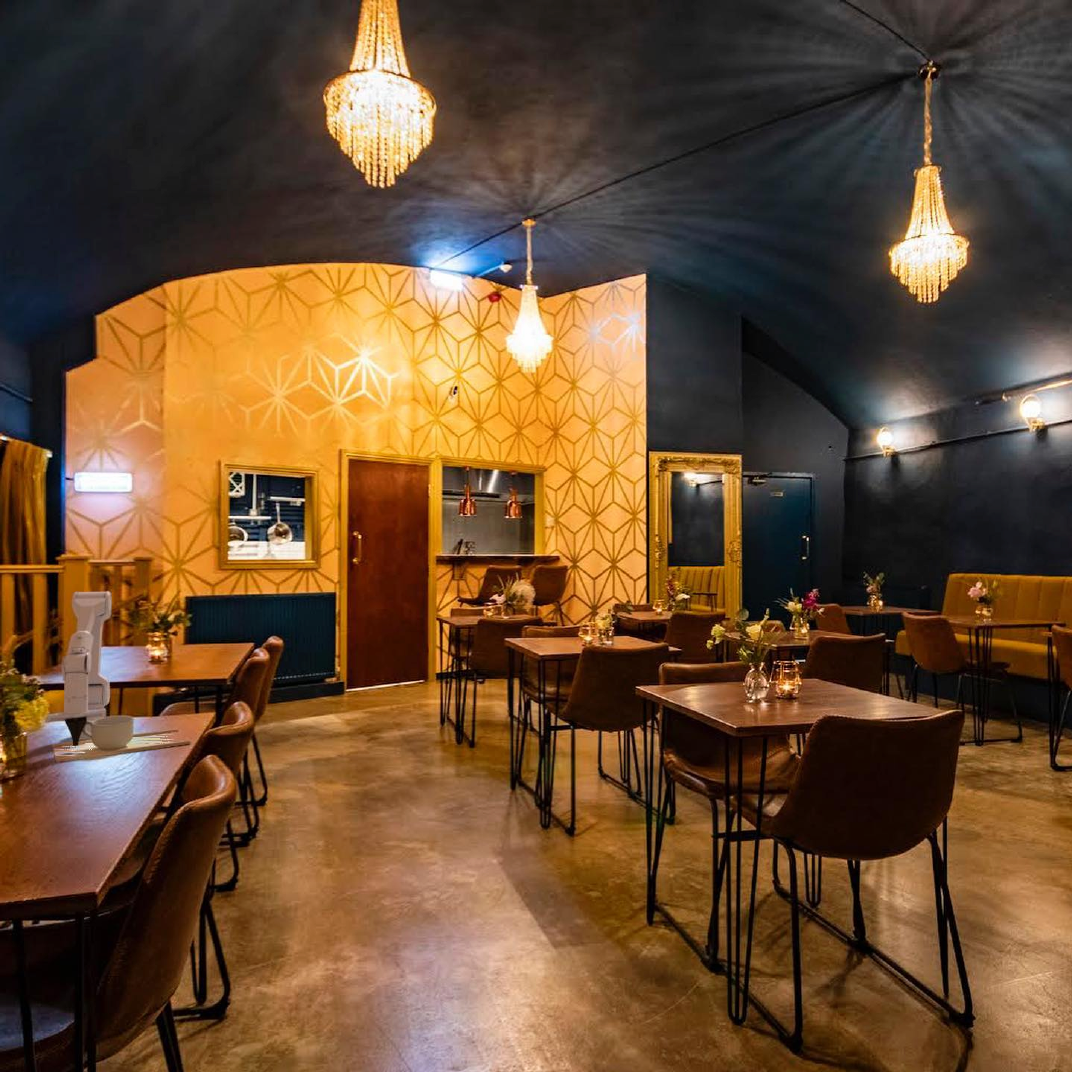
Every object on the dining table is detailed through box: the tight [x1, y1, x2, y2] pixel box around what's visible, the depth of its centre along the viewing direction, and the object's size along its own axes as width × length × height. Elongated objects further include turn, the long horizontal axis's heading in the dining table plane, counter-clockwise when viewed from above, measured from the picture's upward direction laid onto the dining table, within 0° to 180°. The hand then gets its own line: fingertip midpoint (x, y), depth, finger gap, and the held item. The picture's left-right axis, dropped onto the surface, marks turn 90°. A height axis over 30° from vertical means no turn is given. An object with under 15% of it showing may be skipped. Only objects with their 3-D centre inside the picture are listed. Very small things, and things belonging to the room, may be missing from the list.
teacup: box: [82, 715, 135, 750], centre depth 215 cm, size 14×11×8 cm
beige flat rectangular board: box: [51, 728, 191, 763], centre depth 217 cm, size 19×33×1 cm, turn 126°
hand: (75, 745), depth 210 cm, fingers closed
